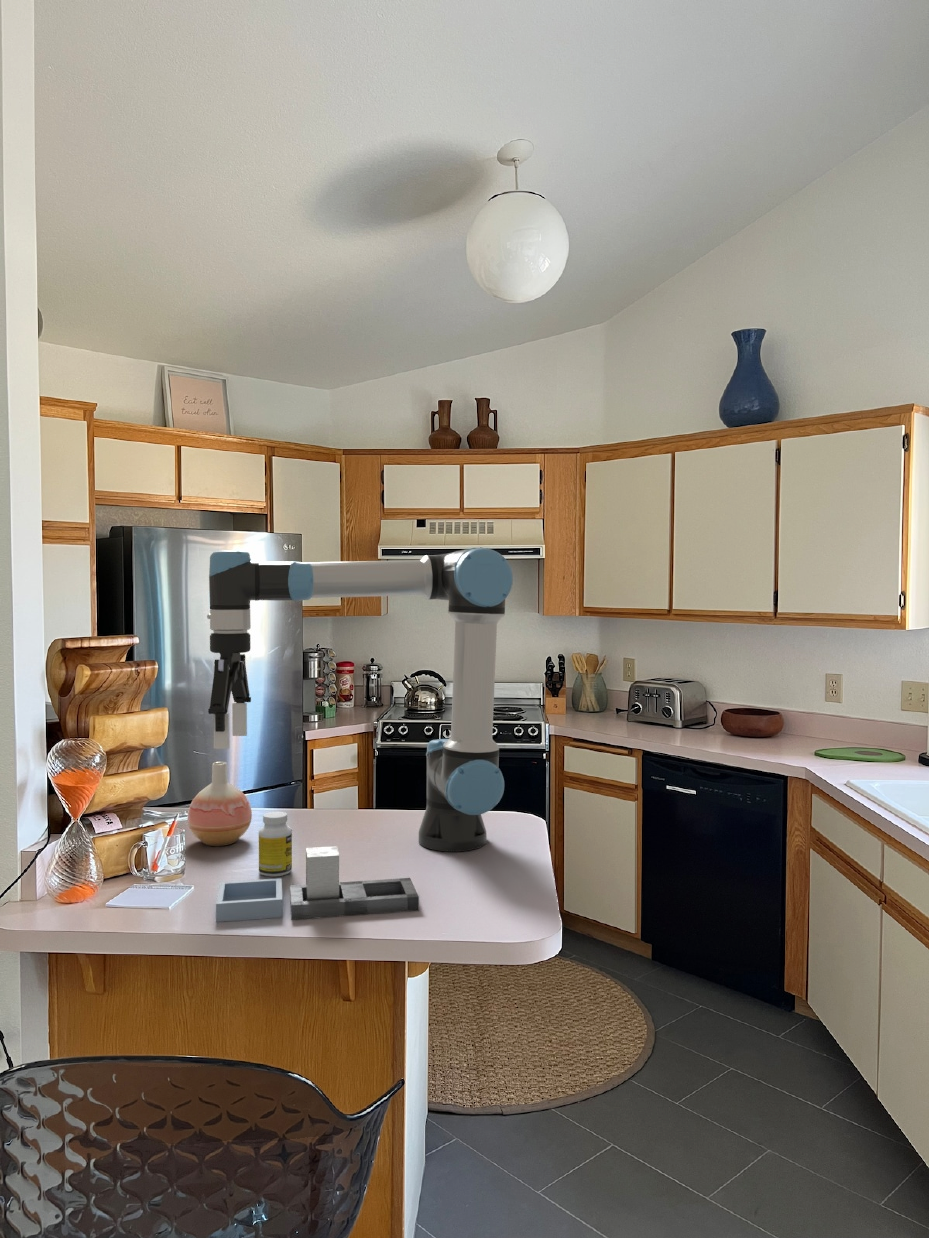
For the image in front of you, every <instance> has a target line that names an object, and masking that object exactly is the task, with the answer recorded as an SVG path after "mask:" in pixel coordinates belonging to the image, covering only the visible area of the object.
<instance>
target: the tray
mask: <svg viewBox="0 0 929 1238" xmlns="http://www.w3.org/2000/svg"><path fill="white" fill-rule="evenodd" d="M282 881H283V879H282V878H267V879H265V878H262V879H251V880H250V879H249V880H234V881H233V880H232V881H220V882H219V885H218V890H217V891H218V892H217V895H216V902H215V923H219V922H229V921H230V922H233V921H235V922H236V921H246V920H250V921H251V920H262V919H275V918H276V919H277V918H283V882H282Z"/></svg>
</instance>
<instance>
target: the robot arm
mask: <svg viewBox="0 0 929 1238" xmlns="http://www.w3.org/2000/svg"><path fill="white" fill-rule="evenodd" d="M208 569H209V574H208V581H209V582H208V585H209V587H208V588H209V589H208V591H209V592H208V593H209V613H208V614H207V615H206V618H207V619H208V620H209V629H210V631H213V632H211V633H210V634H209V650H210V652H211V653H214V654H219V655H220V656H219V659H214V661H213V664H214V666H213V667H214V668H213V679H212V686H211V694H210V702H209V708H208V711H207V712H208V714H209V715H212V719H213V721H212V722H213V750H229V749H230V713H228V710H229V706H230V705H229V704H230V699H231V695H232V698H233V703H231V705H232V706H231V707H232V710H231V711H232V713H231V714H232V717H231V719H232V720H231V721H232V730H231V731H232V736H233V737H235V736H236V737H247V736H248V711H247V710H248V707H247V706H248V705H247V704H248V703H251V702H252V696H251V695H250V689H249V681H248V675H247V673H248V672H247V666H246V654H245V653H248V652H250V651H251V634H250V632H248V631H249V630H251V601H255V602H256V601H276V602H277V601H279V602H280V601H282V602H283V601H287V602H288V601H291V602H292V601H293V602H299V601H309V600H311V599H317V598H318V599H319V598H320V599H322V598H323V599H324V598H326V599H327V598H361V597H365V598H366V597H393V596H394V597H397V596H398V597H399V596H400V597H401V596H404V597H405V596H422V597H423V598H424V599H425V600H427V601H429V600H441V601H443V600H444V601H447V602H448V610H447V612H448V614H449V616H450V617H451V618H452V619H453V621H454V625H455V626H454V643H453V644H454V646H453V647H454V649H453V672H452V698H451V699H452V700H451V719H450V720H451V722H450V723H451V725H450V726H451V727H450V737H449V738H439V739H432V740H429V742H428V743H427V746H426V747H427V748H426V753H425V757H426V807H425V808H426V809H425V811H424V813H423V817H422V820H421V823H420V827H419V829H418V844H419V845H420V846H421V847H424V848H426V849H429V850H433V851H434V850H435V851H440V852H463V851H464V852H465V851H472V850H476V849H479V848H481V847H483V846H485V845H486V844H487V836H488V835H487V829H486V826H485V823H484V820H483V817H482V815H484V814H486V813H488V812H490V811H491V810H492V809H494V808H495V807H496V806H497V805H498V803H500V801H501V799H502V798H503V796H504V791H505V780H504V779H505V778H504V776H503V773H502V771H501V769H500V768H499V761H500V760H499V759H500V758H499V757H500V745H498V744H497V742H496V741H495V740H494V739H493V731H494V730H493V729H494V726H493V725H494V707H495V706H494V705H495V704H494V703H495V681H496V678H495V676H496V659H497V658H496V656H497V655H496V653H497V627H498V623H499V621H500V620H501V619H502V618H503V617H505V615H506V614H505V613H506V598H507V597H508V596H509V595H510V593H511V592H512V591H511V590H512V588H513V582H514V575H513V571H512V568H511V565H510V563H509V562H508V560H507V559H506V557H504V556H503V555H502V554H501V553H499V552H498V551H495V550H494V549H491V548H488V547H487V548H486V547H482V546H481V547H472V548H468V549H461V550H456V551H453V552H449V553H441V554H434V555H432V554H431V555H430V554H428V555H427V554H426V555H424V556H423V557H422V558H421V559H417V560H416V559H415V560H414V559H412V560H404V559H403V560H366V561H364V560H361V561H360V560H359V561H319V562H318V561H317V562H316V561H315V562H314V561H313V562H311V561H310V562H304V561H303V562H301V561H254V560H253V561H252V559H251V555H250V553H249V552H248V551H247V550H245V551H244V550H243V551H242V550H216V551H213V552H212V553H211V554H210V556H209V568H208Z"/></svg>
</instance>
